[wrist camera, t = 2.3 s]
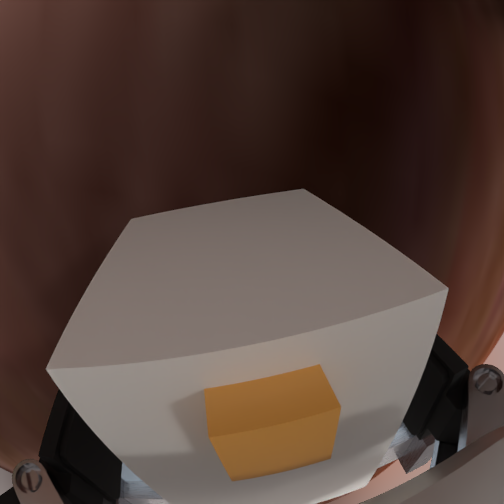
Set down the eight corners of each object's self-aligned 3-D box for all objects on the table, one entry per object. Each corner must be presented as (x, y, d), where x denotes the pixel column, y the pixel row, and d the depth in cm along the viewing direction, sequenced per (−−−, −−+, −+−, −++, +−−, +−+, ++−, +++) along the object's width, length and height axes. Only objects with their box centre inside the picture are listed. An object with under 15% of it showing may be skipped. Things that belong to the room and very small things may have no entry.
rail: (429, 405, 16) (449, 433, 14) (411, 438, 18) (426, 463, 16) (95, 474, 14) (92, 509, 11) (125, 498, 16) (125, 527, 13)
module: (303, 188, 10) (482, 315, 3) (309, 364, 14) (373, 502, 7) (130, 219, 9) (28, 410, 2) (187, 388, 13) (200, 541, 6)
